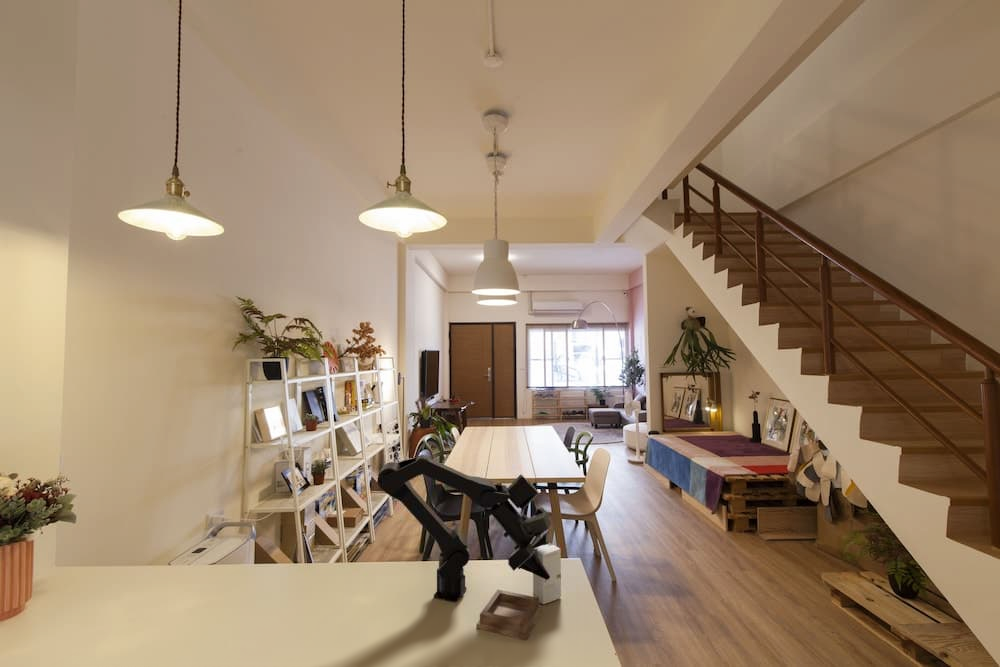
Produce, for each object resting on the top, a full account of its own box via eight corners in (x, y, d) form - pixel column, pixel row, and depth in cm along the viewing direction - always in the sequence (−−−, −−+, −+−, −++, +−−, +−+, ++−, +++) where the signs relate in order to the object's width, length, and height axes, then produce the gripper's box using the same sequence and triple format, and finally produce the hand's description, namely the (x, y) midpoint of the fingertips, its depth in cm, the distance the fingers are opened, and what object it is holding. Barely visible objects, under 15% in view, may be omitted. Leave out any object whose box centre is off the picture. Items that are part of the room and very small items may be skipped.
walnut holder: (476, 627, 100) (476, 615, 100) (496, 598, 111) (496, 587, 111) (526, 640, 95) (526, 627, 95) (542, 608, 106) (542, 597, 107)
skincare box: (543, 605, 108) (542, 555, 108) (532, 596, 111) (531, 548, 112) (562, 597, 111) (561, 548, 111) (550, 589, 115) (550, 542, 115)
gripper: (520, 514, 104) (566, 570, 100) (541, 490, 122) (581, 536, 118) (489, 543, 107) (533, 598, 103) (514, 515, 124) (552, 561, 120)
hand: (552, 571), depth 111 cm, fingers closed on skincare box, 7 cm apart
